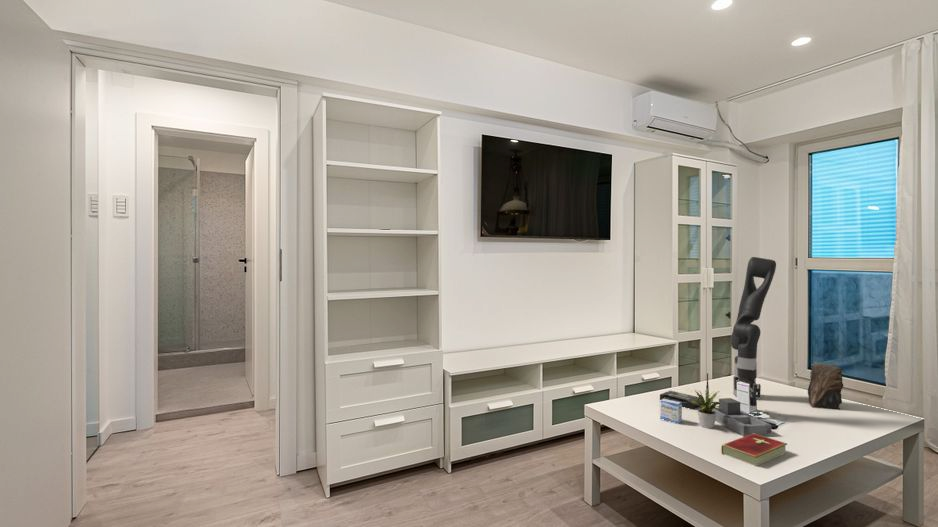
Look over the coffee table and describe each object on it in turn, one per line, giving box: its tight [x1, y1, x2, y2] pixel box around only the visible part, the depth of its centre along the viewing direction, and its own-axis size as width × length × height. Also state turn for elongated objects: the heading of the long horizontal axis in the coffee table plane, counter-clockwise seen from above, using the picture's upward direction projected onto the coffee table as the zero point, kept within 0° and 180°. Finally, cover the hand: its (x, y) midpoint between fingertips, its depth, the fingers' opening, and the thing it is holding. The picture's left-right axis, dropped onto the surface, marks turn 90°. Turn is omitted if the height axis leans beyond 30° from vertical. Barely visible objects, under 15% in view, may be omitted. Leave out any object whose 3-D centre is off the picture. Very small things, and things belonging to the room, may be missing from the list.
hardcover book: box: [720, 433, 788, 467], centre depth 162 cm, size 12×21×4 cm, turn 120°
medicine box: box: [659, 399, 683, 424], centre depth 196 cm, size 8×4×9 cm, turn 47°
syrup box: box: [736, 382, 758, 413], centre depth 204 cm, size 6×6×14 cm
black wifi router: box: [659, 372, 710, 410], centre depth 218 cm, size 20×14×17 cm
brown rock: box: [807, 361, 844, 410], centre depth 214 cm, size 13×13×20 cm
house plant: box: [685, 388, 722, 429], centre depth 189 cm, size 14×14×16 cm
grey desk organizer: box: [713, 397, 772, 437], centre depth 192 cm, size 27×12×9 cm, turn 6°
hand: (747, 403), depth 204 cm, fingers closed on syrup box, 7 cm apart
